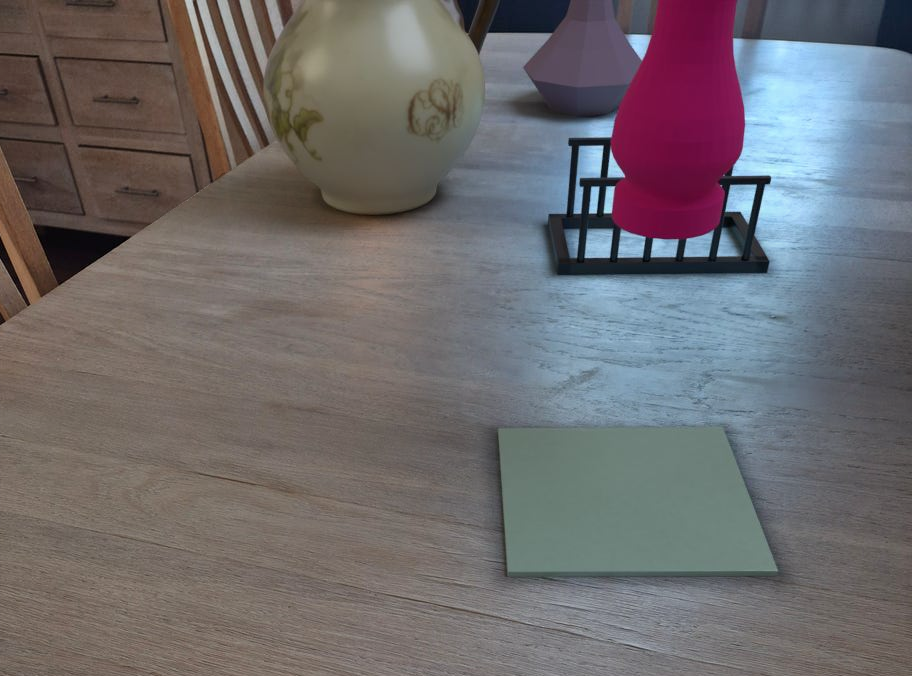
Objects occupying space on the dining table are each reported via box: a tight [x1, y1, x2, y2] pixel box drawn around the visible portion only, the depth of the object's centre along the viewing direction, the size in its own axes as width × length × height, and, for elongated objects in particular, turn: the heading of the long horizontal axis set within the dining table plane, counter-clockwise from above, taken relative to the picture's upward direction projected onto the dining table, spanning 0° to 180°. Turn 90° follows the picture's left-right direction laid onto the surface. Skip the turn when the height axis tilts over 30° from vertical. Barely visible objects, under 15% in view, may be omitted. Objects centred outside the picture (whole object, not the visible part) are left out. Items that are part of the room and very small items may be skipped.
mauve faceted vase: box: [522, 0, 643, 118], centre depth 119 cm, size 16×16×20 cm
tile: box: [497, 426, 779, 578], centre depth 62 cm, size 16×16×1 cm
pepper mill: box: [610, 0, 746, 241], centre depth 49 cm, size 7×7×20 cm
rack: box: [547, 136, 772, 276], centre depth 89 cm, size 19×12×8 cm, turn 89°
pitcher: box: [262, 0, 501, 216], centre depth 95 cm, size 22×24×25 cm
